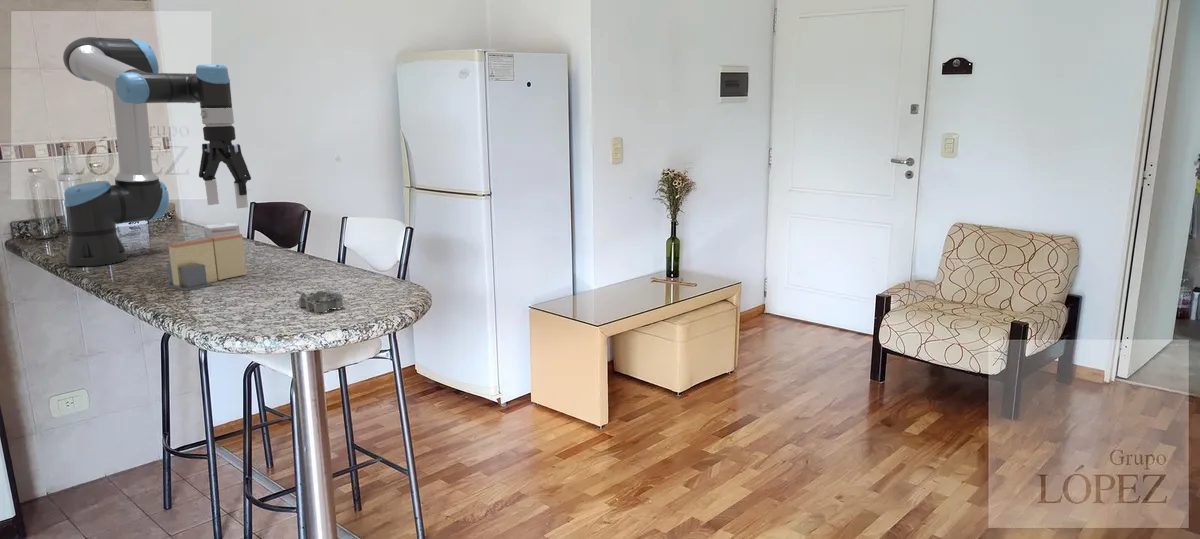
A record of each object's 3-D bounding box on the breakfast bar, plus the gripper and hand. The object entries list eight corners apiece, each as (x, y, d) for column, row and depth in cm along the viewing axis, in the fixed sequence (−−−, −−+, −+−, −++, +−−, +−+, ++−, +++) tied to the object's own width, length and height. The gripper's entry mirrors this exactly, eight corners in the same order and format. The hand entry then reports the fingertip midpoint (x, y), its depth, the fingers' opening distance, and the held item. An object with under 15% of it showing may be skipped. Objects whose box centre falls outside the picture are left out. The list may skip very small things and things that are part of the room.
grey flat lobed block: (295, 307, 183) (293, 290, 182) (326, 301, 188) (324, 284, 187) (316, 315, 176) (314, 298, 175) (347, 309, 181) (346, 292, 180)
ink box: (212, 268, 224) (207, 227, 221) (207, 265, 227) (202, 225, 225) (243, 264, 229) (239, 224, 227) (238, 261, 233) (234, 222, 230)
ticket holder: (164, 285, 203) (158, 242, 201) (203, 278, 212) (198, 236, 209) (185, 290, 198) (180, 246, 195) (224, 282, 206) (220, 240, 204)
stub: (212, 278, 210) (207, 237, 208) (239, 273, 217) (235, 233, 214) (218, 280, 208) (213, 238, 206) (246, 274, 215) (242, 234, 212)
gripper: (178, 125, 209) (188, 204, 213) (232, 126, 195) (241, 210, 200) (205, 124, 215) (214, 201, 219) (259, 125, 201) (268, 207, 206)
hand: (227, 206), depth 210 cm, fingers open, 13 cm apart
